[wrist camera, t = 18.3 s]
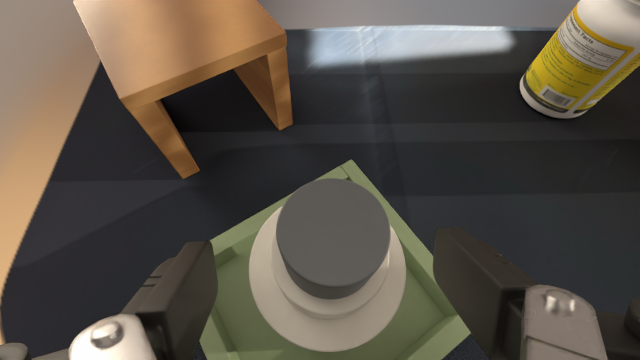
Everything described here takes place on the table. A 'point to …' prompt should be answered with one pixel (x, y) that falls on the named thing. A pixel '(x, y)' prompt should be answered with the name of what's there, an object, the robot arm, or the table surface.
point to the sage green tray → (373, 356)
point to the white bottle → (328, 267)
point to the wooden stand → (186, 58)
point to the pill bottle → (584, 58)
